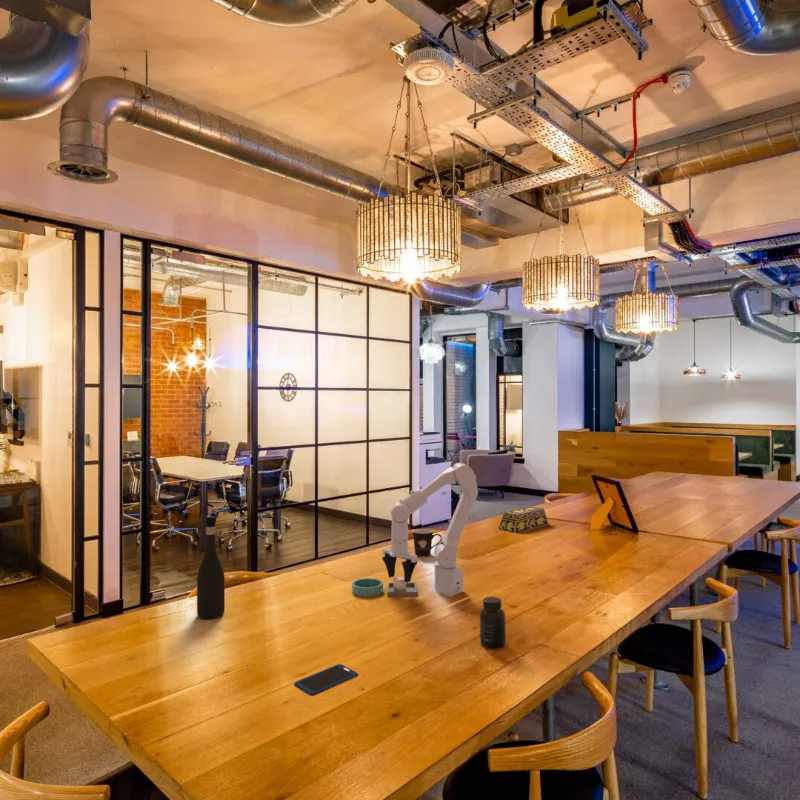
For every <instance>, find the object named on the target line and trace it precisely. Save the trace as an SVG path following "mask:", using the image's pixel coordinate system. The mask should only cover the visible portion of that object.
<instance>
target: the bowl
mask: <svg viewBox="0 0 800 800" xmlns="http://www.w3.org/2000/svg"><path fill="white" fill-rule="evenodd" d="M351 592H352V594H353V595H354V596H357V597H367V598H368V597H376V596H379V595H381V594H382V593H383V592H384V582H383V581H382V579H381V580H380V579H377V578H372V577H371V578H368V577H366V578H359V579H356V580H354V581H353V582H352V583H351Z"/></svg>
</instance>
